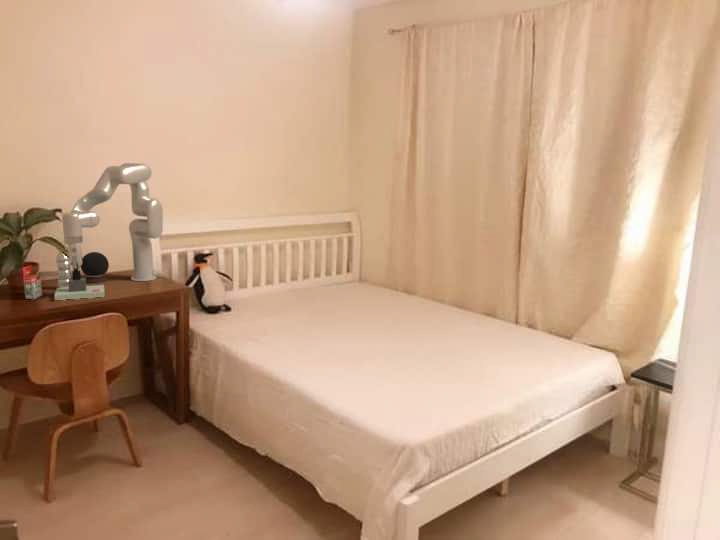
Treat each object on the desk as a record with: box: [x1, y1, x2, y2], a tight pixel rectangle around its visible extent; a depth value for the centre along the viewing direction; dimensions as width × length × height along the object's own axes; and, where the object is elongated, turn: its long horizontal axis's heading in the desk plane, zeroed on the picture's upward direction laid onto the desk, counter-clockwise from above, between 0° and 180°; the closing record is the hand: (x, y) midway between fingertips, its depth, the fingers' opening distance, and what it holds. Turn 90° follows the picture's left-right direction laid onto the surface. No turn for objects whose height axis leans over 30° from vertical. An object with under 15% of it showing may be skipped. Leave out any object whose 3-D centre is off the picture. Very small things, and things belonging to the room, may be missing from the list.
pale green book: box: [53, 284, 105, 301], centre depth 258 cm, size 20×15×3 cm
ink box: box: [22, 264, 43, 301], centre depth 251 cm, size 4×8×15 cm, turn 3°
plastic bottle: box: [55, 246, 73, 288], centre depth 268 cm, size 6×7×20 cm
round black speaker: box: [79, 251, 110, 284], centre depth 286 cm, size 13×13×15 cm
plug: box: [68, 277, 87, 292], centre depth 258 cm, size 7×5×7 cm
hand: (76, 279), depth 257 cm, fingers closed
